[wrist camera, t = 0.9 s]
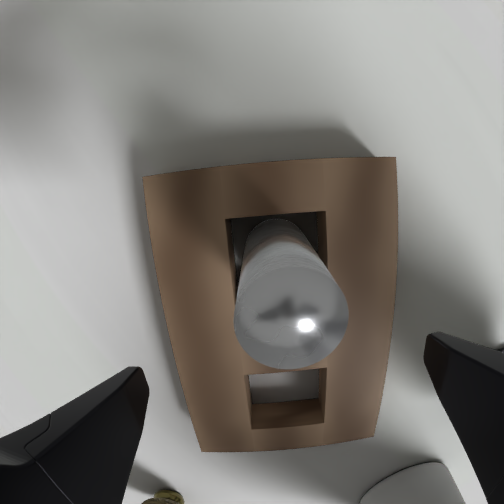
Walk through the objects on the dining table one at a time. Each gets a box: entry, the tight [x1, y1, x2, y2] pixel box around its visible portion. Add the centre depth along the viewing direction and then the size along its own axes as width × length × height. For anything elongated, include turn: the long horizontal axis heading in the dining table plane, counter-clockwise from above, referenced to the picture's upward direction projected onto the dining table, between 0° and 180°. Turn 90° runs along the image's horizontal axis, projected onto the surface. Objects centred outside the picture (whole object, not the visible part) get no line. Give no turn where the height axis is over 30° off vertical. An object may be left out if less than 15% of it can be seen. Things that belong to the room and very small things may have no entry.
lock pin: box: [233, 219, 349, 369], centre depth 15 cm, size 4×4×10 cm
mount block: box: [142, 157, 398, 452], centre depth 20 cm, size 14×21×3 cm, turn 5°
